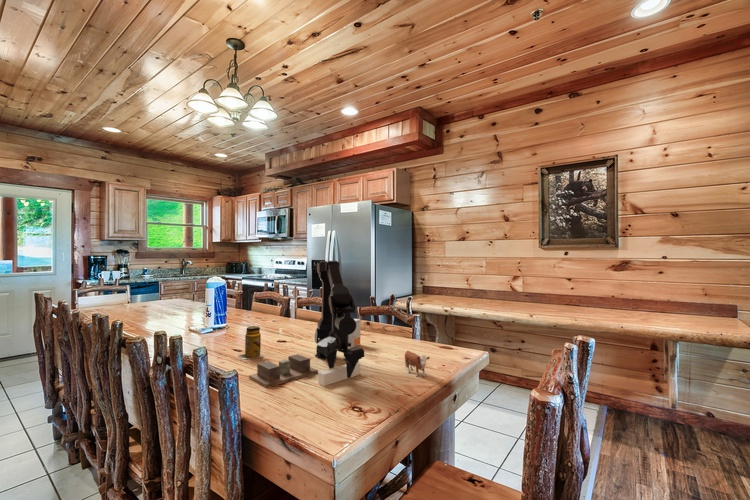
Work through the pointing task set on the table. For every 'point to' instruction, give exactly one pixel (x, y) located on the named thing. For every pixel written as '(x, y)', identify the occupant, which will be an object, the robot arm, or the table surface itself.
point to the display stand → (282, 371)
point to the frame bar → (336, 374)
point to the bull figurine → (415, 362)
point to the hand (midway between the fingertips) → (340, 374)
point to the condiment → (252, 343)
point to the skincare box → (355, 334)
